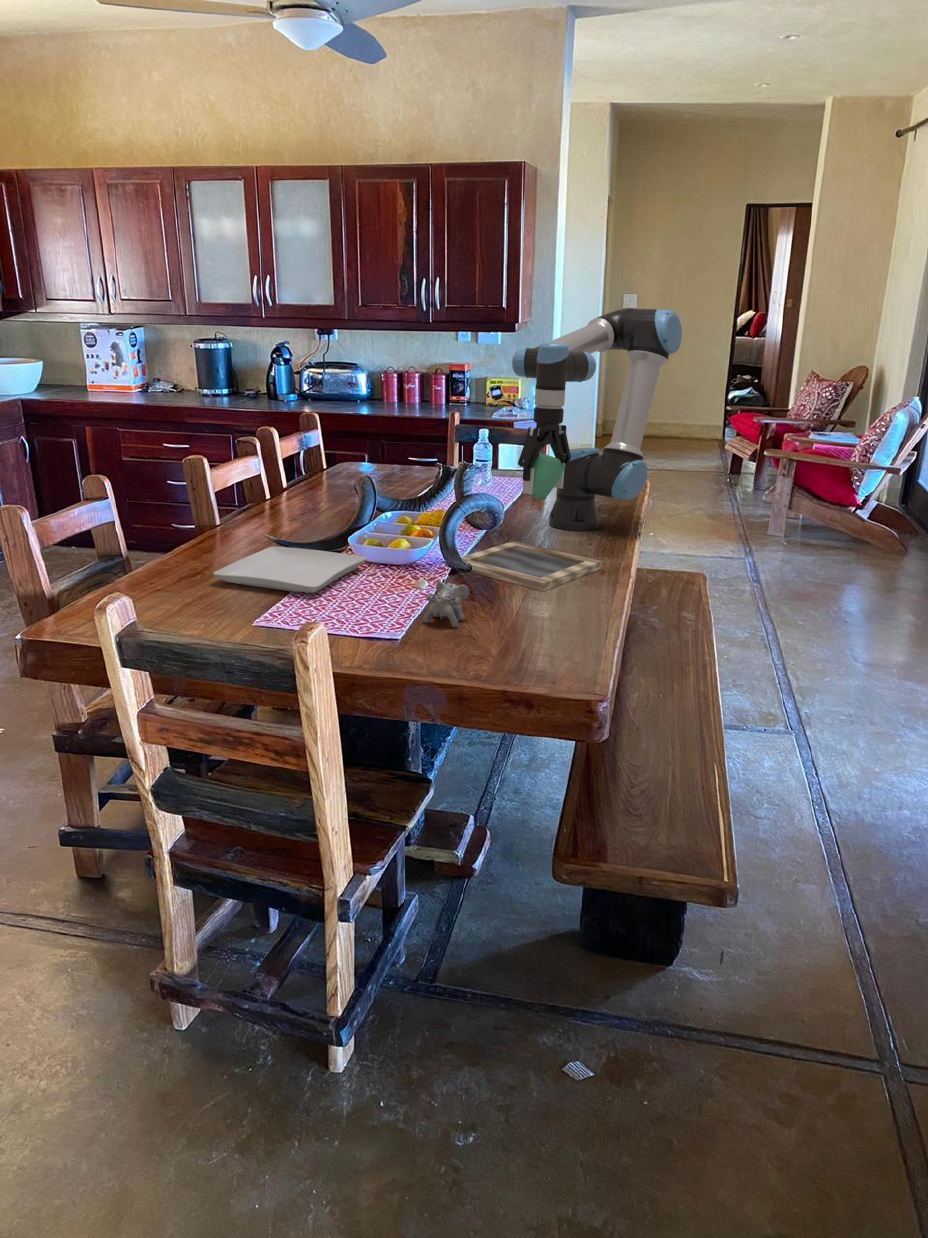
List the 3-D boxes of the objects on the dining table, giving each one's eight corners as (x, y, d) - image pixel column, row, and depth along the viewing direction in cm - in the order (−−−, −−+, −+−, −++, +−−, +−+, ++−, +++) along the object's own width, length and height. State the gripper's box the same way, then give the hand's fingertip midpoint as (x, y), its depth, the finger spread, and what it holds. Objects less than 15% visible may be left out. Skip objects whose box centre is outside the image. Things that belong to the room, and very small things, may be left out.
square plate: (368, 570, 223) (368, 555, 221) (316, 602, 198) (316, 585, 197) (272, 557, 231) (272, 543, 229) (211, 587, 206) (210, 571, 205)
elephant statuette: (422, 628, 184) (422, 594, 181) (426, 606, 195) (427, 573, 192) (467, 631, 184) (468, 596, 181) (468, 609, 195) (470, 576, 192)
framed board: (513, 548, 245) (513, 541, 244) (601, 568, 228) (602, 561, 227) (451, 567, 226) (452, 559, 225) (543, 591, 209) (543, 583, 208)
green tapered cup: (554, 497, 223) (565, 459, 224) (516, 487, 225) (528, 449, 225) (555, 509, 238) (565, 473, 238) (519, 499, 239) (530, 464, 240)
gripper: (564, 403, 237) (558, 483, 244) (507, 407, 219) (502, 493, 225) (588, 406, 232) (581, 487, 239) (531, 410, 214) (526, 498, 221)
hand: (542, 490), depth 232 cm, fingers closed on green tapered cup, 13 cm apart
